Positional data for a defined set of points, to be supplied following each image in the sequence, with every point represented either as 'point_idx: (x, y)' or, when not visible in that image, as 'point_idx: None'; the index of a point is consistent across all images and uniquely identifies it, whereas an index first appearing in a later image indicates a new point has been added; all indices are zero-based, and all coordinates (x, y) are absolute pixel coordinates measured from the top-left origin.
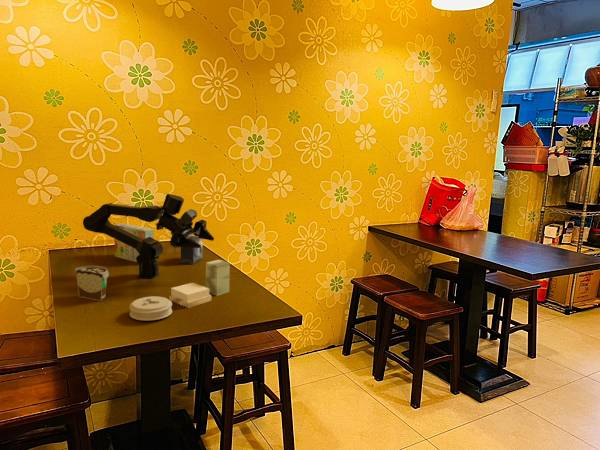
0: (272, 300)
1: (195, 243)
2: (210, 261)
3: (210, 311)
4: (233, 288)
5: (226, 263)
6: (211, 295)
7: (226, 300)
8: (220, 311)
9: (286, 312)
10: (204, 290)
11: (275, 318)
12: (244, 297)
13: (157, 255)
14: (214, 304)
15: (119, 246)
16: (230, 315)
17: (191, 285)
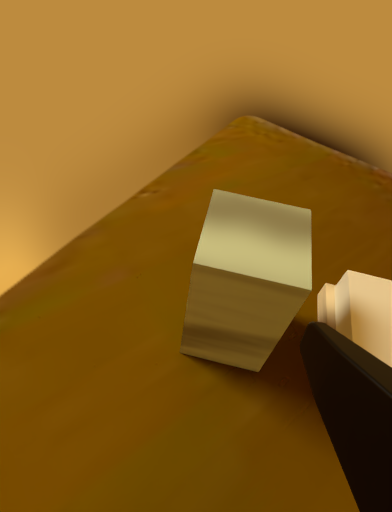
0: (192, 164)
1: (378, 365)
2: (268, 280)
3: (384, 250)
4: (149, 294)
5: (237, 195)
6: (325, 283)
7: None
8: (359, 230)
9: (245, 127)
10: (373, 278)
11: (291, 134)
12: None
13: None
14: (335, 268)
15: None
16: (356, 201)
17: (389, 356)
